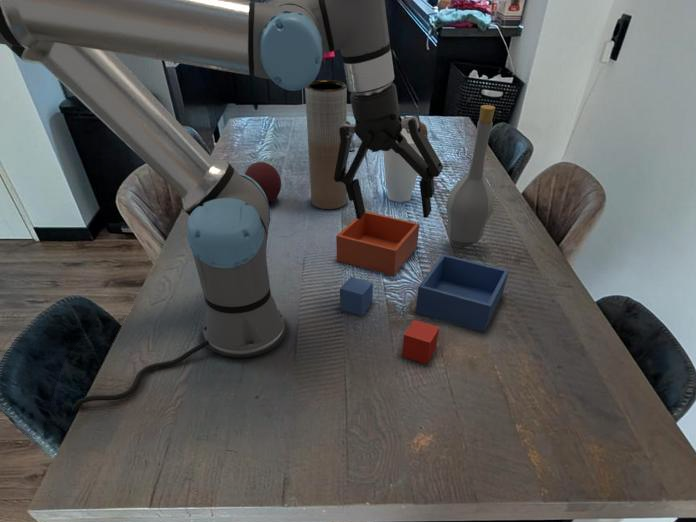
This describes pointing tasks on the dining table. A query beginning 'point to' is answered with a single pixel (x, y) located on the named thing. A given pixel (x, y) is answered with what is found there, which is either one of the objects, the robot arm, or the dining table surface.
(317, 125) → the vase
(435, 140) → the dining table surface
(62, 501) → the dining table surface
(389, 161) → the cup
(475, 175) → the bottle
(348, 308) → the blue block
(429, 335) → the red block
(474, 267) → the blue bin
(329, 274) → the dining table surface
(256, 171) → the decorative ball
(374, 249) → the red bin
